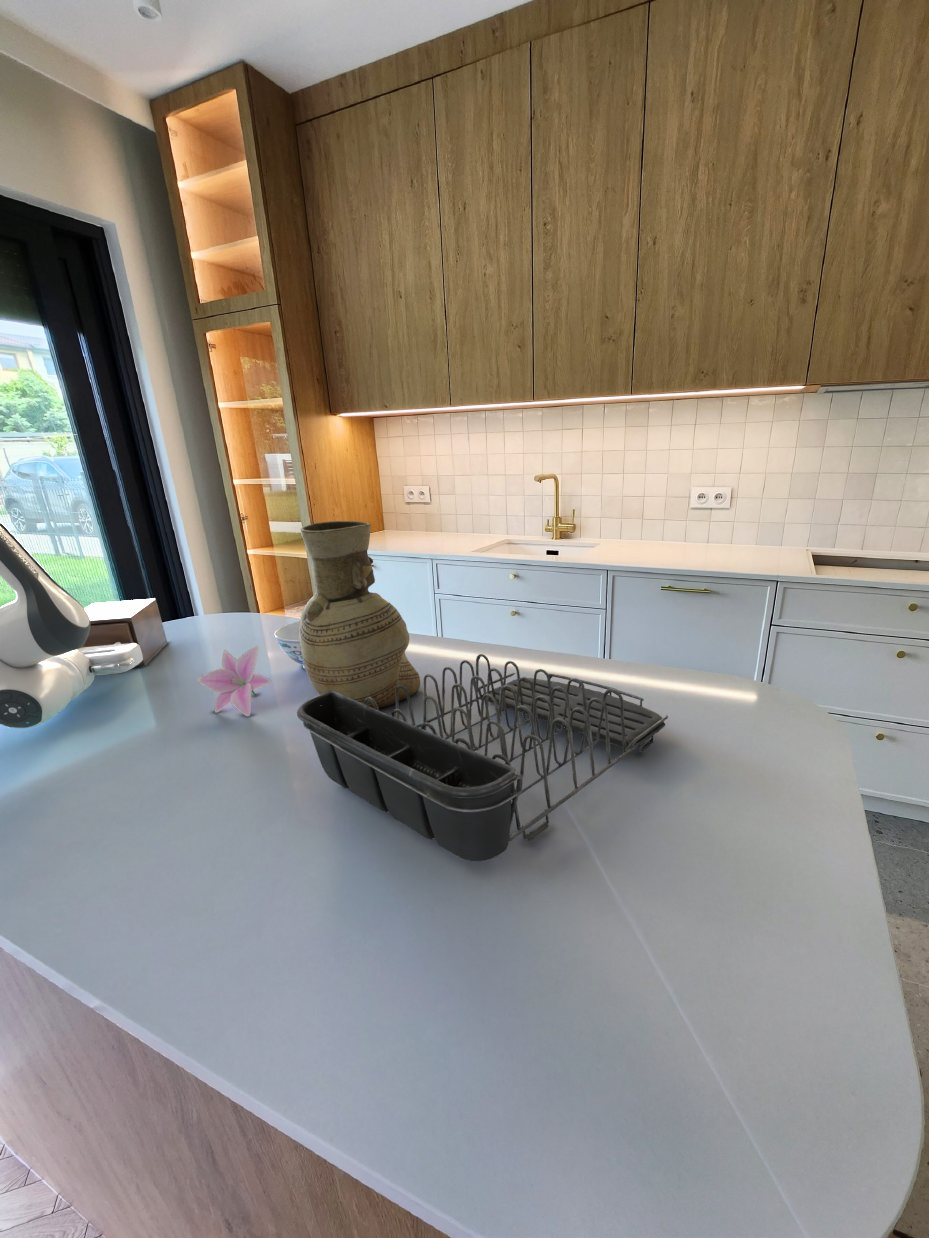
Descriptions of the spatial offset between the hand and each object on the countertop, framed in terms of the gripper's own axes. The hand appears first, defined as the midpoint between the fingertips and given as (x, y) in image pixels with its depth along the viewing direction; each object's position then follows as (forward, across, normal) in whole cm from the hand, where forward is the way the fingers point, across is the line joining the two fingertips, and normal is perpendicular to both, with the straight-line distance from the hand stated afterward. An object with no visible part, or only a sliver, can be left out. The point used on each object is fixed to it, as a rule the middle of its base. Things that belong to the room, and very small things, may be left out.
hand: (94, 647), depth 114 cm
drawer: (+7, 0, +5) cm, 9 cm away
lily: (-23, -30, +6) cm, 39 cm away
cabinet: (+12, 0, +6) cm, 13 cm away
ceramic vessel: (-26, -51, +6) cm, 58 cm away
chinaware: (-6, -42, +6) cm, 43 cm away
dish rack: (-54, -70, +6) cm, 89 cm away
